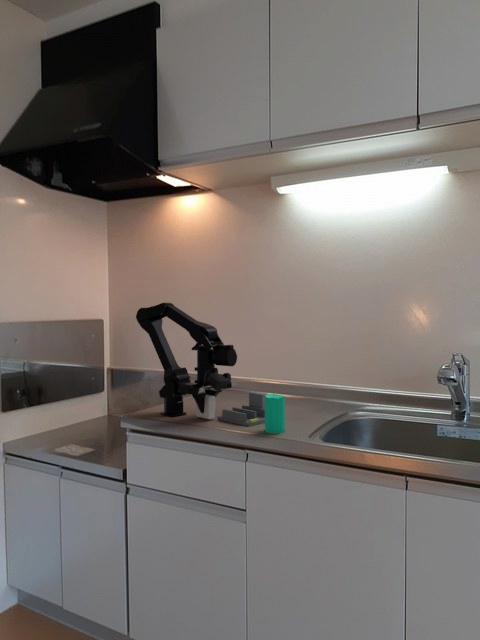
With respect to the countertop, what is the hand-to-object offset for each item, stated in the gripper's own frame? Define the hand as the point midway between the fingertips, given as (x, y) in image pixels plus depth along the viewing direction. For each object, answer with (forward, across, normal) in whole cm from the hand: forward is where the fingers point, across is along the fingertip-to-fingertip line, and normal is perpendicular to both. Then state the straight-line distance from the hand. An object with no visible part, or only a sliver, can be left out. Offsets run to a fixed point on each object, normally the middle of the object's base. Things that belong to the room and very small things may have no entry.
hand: (205, 412), depth 162 cm
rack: (+2, +10, -10) cm, 14 cm away
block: (+2, 0, 0) cm, 2 cm away
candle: (+2, +4, -26) cm, 26 cm away
